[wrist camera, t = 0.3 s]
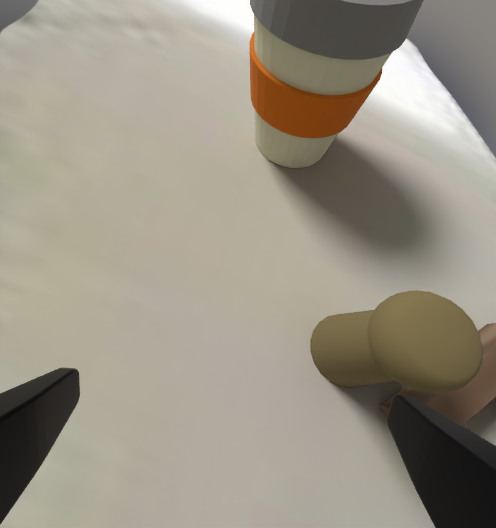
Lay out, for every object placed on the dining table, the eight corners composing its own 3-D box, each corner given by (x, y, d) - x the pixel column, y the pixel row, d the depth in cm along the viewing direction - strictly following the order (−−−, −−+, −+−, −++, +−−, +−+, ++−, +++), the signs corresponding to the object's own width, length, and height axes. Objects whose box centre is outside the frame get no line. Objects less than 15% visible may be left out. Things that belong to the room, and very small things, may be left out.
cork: (378, 324, 23) (500, 292, 13) (375, 395, 21) (520, 425, 11) (315, 307, 23) (387, 262, 13) (305, 376, 21) (382, 387, 11)
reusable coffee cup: (236, 103, 32) (245, -92, 19) (328, 105, 34) (401, -74, 20) (244, 181, 28) (265, -1, 14) (351, 180, 29) (465, 14, 15)
